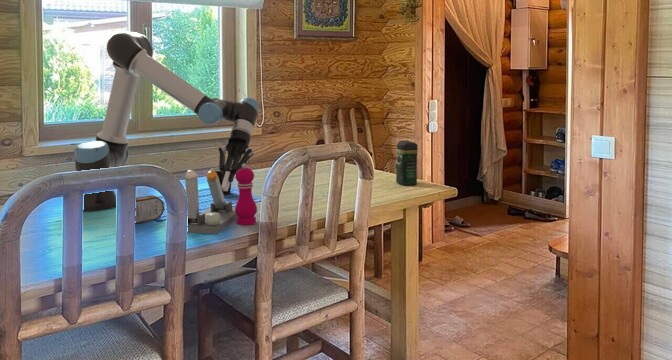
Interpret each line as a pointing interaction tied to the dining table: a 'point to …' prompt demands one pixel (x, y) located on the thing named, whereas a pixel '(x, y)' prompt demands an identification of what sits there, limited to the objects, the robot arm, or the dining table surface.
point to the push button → (212, 218)
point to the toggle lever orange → (216, 190)
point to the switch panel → (201, 226)
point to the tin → (148, 208)
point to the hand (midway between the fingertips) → (224, 189)
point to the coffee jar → (406, 163)
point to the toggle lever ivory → (192, 195)
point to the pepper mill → (245, 197)
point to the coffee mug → (221, 180)
